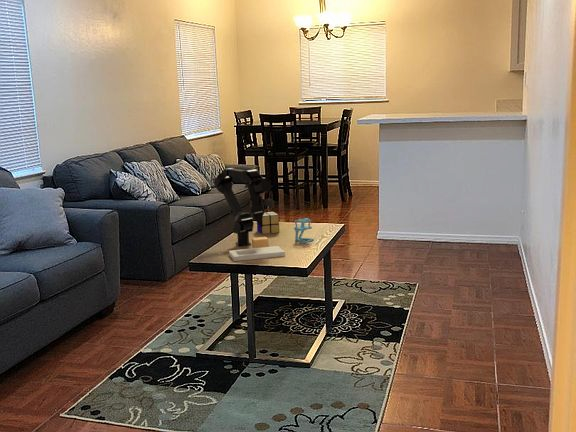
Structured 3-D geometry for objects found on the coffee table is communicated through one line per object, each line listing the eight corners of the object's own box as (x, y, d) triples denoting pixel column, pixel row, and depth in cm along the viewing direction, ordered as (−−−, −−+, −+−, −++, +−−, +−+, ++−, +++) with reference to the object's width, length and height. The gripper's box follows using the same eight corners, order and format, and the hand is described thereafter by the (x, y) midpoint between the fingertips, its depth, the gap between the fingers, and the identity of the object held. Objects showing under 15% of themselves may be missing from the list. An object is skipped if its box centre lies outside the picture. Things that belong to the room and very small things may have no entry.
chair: (301, 238, 328) (300, 215, 326) (314, 240, 323) (313, 217, 320) (292, 241, 322) (291, 218, 320) (305, 243, 317) (304, 219, 315)
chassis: (229, 254, 299) (228, 250, 298) (278, 249, 305) (277, 245, 305) (234, 261, 287) (234, 256, 287) (285, 255, 294) (284, 251, 294)
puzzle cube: (257, 230, 349) (256, 213, 347) (274, 229, 352) (273, 211, 350) (261, 234, 340) (261, 216, 338) (279, 232, 342) (279, 214, 340)
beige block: (252, 247, 312) (251, 238, 311) (266, 246, 313) (265, 236, 312) (254, 250, 307) (254, 240, 306) (268, 248, 309) (268, 238, 308)
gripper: (271, 191, 296) (278, 223, 296) (271, 193, 315) (277, 224, 315) (248, 195, 296) (254, 228, 296) (249, 197, 314) (255, 228, 314)
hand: (261, 227), depth 305 cm, fingers open, 9 cm apart
